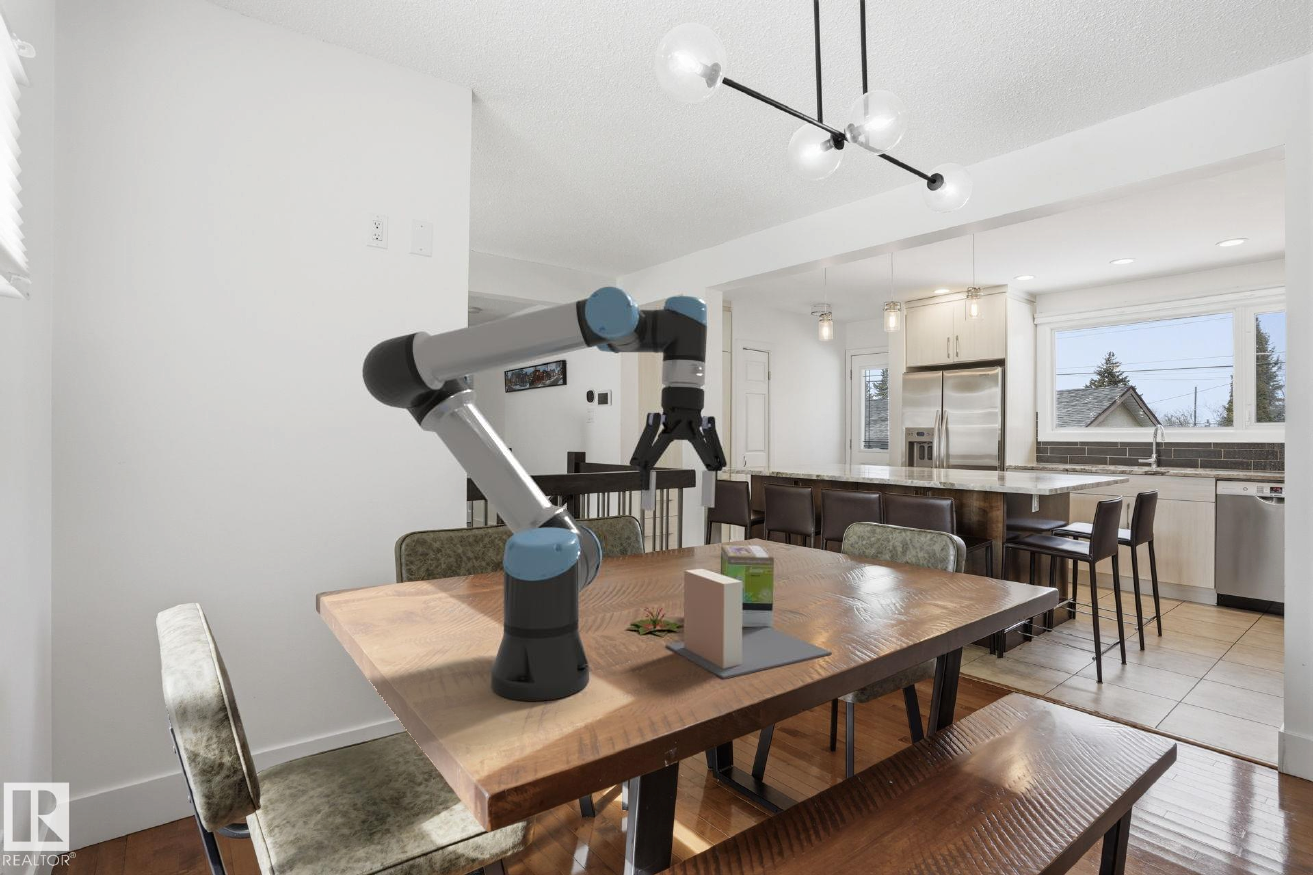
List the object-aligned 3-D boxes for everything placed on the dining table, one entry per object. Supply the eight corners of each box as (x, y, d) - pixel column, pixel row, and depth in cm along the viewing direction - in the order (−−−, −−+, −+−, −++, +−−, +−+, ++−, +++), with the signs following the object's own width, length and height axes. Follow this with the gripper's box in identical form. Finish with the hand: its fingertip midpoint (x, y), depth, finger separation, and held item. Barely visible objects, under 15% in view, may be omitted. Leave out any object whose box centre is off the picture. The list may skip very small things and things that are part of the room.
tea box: (774, 628, 127) (775, 556, 127) (725, 627, 127) (726, 555, 128) (763, 608, 142) (763, 543, 142) (719, 607, 142) (719, 543, 143)
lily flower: (694, 627, 129) (694, 605, 129) (665, 643, 118) (666, 619, 119) (645, 618, 135) (645, 597, 135) (613, 633, 125) (614, 610, 125)
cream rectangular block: (722, 668, 103) (723, 584, 103) (683, 647, 114) (684, 570, 114) (741, 664, 105) (742, 581, 105) (701, 643, 116) (702, 568, 116)
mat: (723, 678, 100) (723, 676, 100) (665, 646, 115) (665, 644, 115) (831, 654, 112) (831, 651, 112) (766, 627, 127) (766, 625, 127)
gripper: (638, 379, 98) (633, 513, 98) (748, 391, 113) (744, 507, 113) (611, 382, 104) (607, 508, 104) (720, 393, 119) (716, 503, 119)
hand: (678, 508), depth 109 cm, fingers open, 13 cm apart
